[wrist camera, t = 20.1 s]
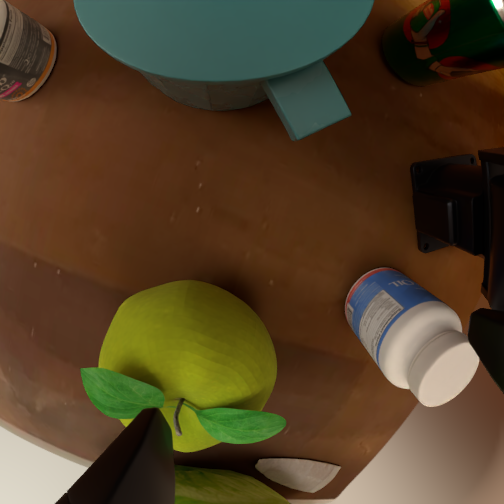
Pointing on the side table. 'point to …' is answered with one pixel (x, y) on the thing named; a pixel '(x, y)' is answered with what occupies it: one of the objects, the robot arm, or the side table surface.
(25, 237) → the side table surface
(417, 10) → the soda can
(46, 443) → the side table surface
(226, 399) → the fruit
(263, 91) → the pot
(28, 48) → the pill bottle
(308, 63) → the pot lid
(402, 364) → the pill bottle
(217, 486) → the lettuce
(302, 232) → the side table surface
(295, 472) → the arrowhead
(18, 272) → the side table surface
